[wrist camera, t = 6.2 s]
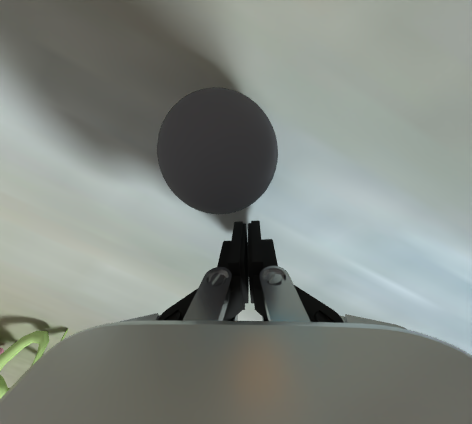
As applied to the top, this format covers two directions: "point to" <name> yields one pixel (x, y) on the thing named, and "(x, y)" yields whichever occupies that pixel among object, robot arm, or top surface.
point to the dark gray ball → (217, 150)
